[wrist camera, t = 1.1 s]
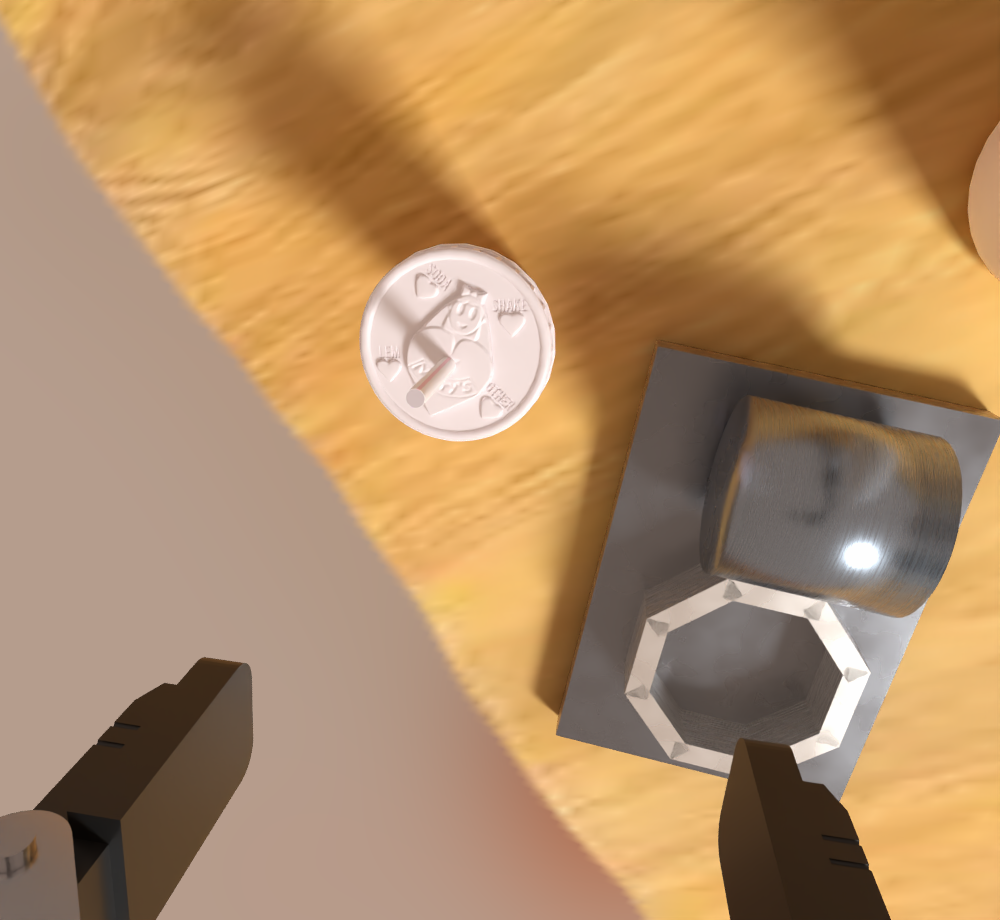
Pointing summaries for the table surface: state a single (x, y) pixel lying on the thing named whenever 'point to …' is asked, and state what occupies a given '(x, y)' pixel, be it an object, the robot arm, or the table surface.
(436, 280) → the smoothie
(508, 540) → the table surface
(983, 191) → the alcohol
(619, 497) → the flat grey tray
